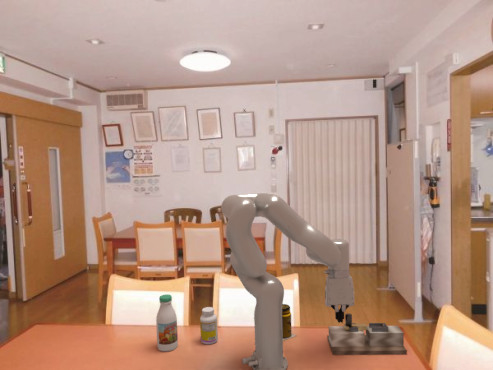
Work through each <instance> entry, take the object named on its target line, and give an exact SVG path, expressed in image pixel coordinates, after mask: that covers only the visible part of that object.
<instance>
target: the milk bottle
mask: <svg viewBox="0 0 493 370" xmlns="http://www.w3.org/2000/svg"><path fill="white" fill-rule="evenodd" d="M172 299H173V297H172V295H171V294H166V293H165V294H162V295H160V296H159V309H158V311H157V313H156V314H157V315H156V318H155V319H156V320H155V322H156V324H155V325H156V344H157V349H158V351H160V352H171V351H173V350H175V349H177V348H178V345H179V340H178V339H179V338H178V321H177V314H176V311H175V309H174V306H173V304H172V302H173V300H172Z"/></svg>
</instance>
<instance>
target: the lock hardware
mask: <svg viewBox="0 0 493 370" xmlns="http://www.w3.org/2000/svg"><path fill="white" fill-rule="evenodd" d="M352 324H357V323H356V322H355V323H354V322H352ZM368 326H369V328H372V332H386V331H387V332H388V326H389V325H387V323H386V322H369V323H368ZM350 332H358V327H350Z"/></svg>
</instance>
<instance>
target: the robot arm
mask: <svg viewBox="0 0 493 370" xmlns="http://www.w3.org/2000/svg"><path fill="white" fill-rule="evenodd" d="M220 208H221V210H220V211H221V212H222V215H223V216H224V217H225V218H226V219H227V223H226V227H225V239H226V242H227V244H228V246H229V248H230V251H231V253H230V256H229V257H230V258H229V259H230V264H231V267H232V269H233V270H234V271H235V274H236V275H237V278H238V279H239V280H240V283H241V285H242V286H243V287H244V289H245V290H246V291H247V292H248V293H249V295H251V296H253V297H254V298H255V300H256V301H255V307H254V311H253V312H254V313H253V315H254V317H253V321H254V322H253V323H254V351H252V355H251V354H250V356H248V357H243V358H242V359H241V363H242V365H248V367H251V369H252V370H287V368H288V366H289V362H288V359H287V358H286V357H285V356H284V340H283V330H282V304H284V303H283V302H284V296H285V288H284V285H283V283H282V281H280V279H279V278H278V277H276V276H275V275H273V274H271V273H270V272H267V267H268V262H267V259H266V256H265V255H264V253H263V252H262V250H261V248H260V246H259V244H258V242H257V241H256V239H255V236H254V235H253V232H252V227H253V222H254V220H255V218H257V217H259V218H260V217H261V218H264V219H266V220H268V221H269V222H270V223H271V224H272V225H273V226H275V228H277V229H278V230H279V231H280V232H281V233H282V234H283V235H284V236H285V237H286V238H288V239H289V240H291V241H292V242H294V243H296V244H299V245H300V246H302V247H303V248H305V254H306V255H307V257H308V258H309V259H310V260H312V261H314V262H317V263H319V264H321V265H324V266H326V267H327V269H325V270H324V274H326V275H327V276H326V279H325V289H324V299H325V301H324V305H325V307H328V308H332V309H333V310H334V311H335V312H334V315H335V317H334V318H335V320H337V323H338V324H339V323H342V324H343V323H344V320H345V312H346V310H347V309H348V308H349V307H353V306H355V289H354V282H353V281H354V280H353V277H352V276H351V275H350V244H349V242H348V240H346V239H344V238H332V239H330V238H329V237H328V236H327V235H326V234H324V232H322V231H321V230H319V229H318V228H317V227H315V226H314V225H312V224H311V223H310V222H308V221H307V220H306V219H305V218H303V217H302V216H301V215H300V214H299V213H298V212H297V211H296V210H295V209H294V208H293V207H292V206H291V205H289V204H288V203H287V202H286V201H285V200H284V199H283V198H282V197H281V196H279V195H277V194H272V193H246V194H232V195H229V196H227V197H225V198H224V200H223V201H222V202H221V207H220ZM339 306H340V308H339Z"/></svg>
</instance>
